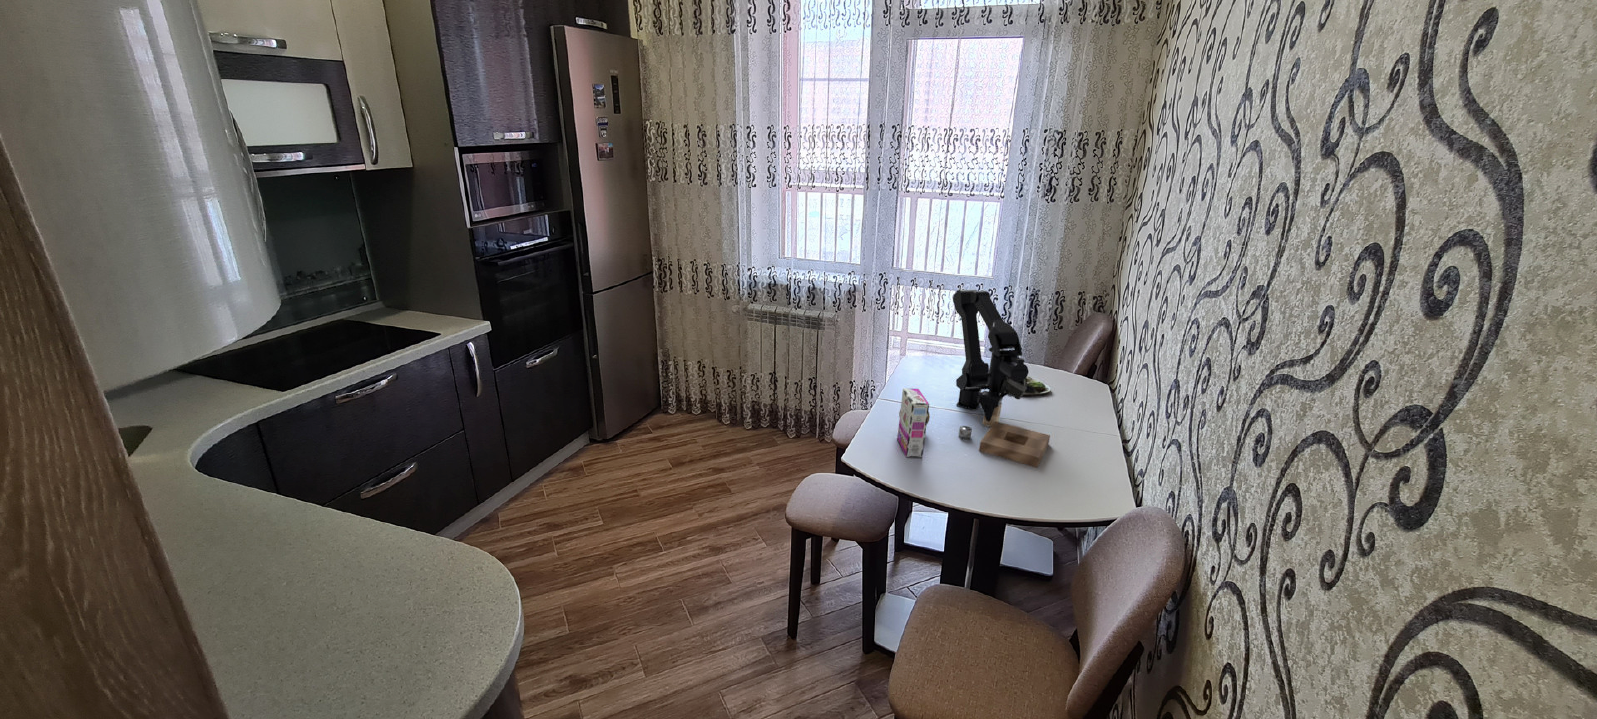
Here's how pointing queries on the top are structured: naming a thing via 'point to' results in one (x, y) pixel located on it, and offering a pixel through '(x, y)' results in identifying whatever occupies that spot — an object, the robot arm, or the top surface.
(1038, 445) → the hole block
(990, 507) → the top surface
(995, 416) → the tan cardboard cuboid
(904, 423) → the candy bar box
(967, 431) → the grey metal cylinder
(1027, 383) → the salad plate
